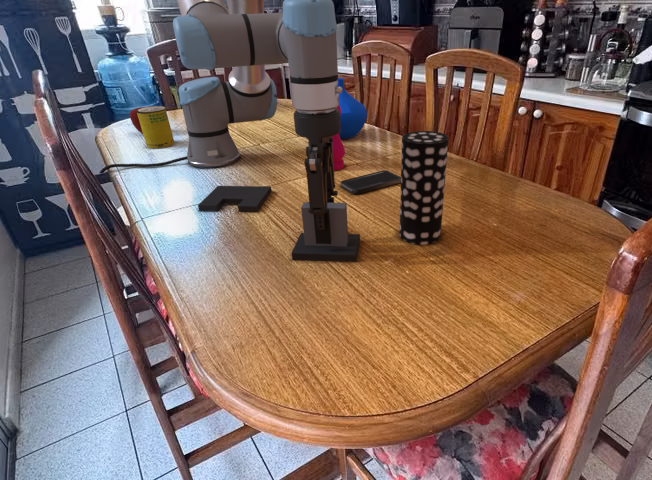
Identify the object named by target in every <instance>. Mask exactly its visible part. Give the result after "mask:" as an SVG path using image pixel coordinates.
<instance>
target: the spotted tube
mask: <svg viewBox="0 0 652 480" xmlns="http://www.w3.org/2000/svg"><path fill="white" fill-rule="evenodd" d="M449 137H450V136H449V135H447V134H445V133H443V132H439V131H434V130H433V131H432V130H417V131H411V132H407V133H404V134H403V135H402V136H401V161H400V163H401V167H400V177H401V182H400V197H399V198H400V202H399V203H400V207H399V237H400V239H401V240H402V241H404V242H406V243H409V244H411V245H421V246H425V245H430V244H431V245H432V244H434V243H436V242H438V241H439V240H440V239H441V235H442V234H441V233H442V224H443V223H442V221H443V210H444V198H445V189H446V187H445V186H446V174H447V163H448V151H449V150H448V149H449V140H450V139H449Z"/></svg>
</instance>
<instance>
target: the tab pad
mask: <svg viewBox="0 0 652 480" xmlns="http://www.w3.org/2000/svg"><path fill="white" fill-rule="evenodd" d="M347 206H348V205H347V202H334V203H327V208H328V210H329V216H330V230H331V244H316V237H315V226H314V215H313V214H310V213H309V212H308V210H309V209H310V205H309V201H304V202H303V203H302V205H301V207H300V210H301V211H300V212H301V221H302V230H303V232H300V234H299V236H298V238H297V240H296V243H295V244H294V246H293V249H292V251H291V252H290V253H291V259H292V261H316V262H317V261H318V262H319V261H321V262H323V261H324V262H354V263H355V262H357V259H358V254H359V253H358V252H359V249H360V242H361V234H360V233H349V228H348V226H349V225H348V207H347Z"/></svg>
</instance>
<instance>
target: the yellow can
mask: <svg viewBox="0 0 652 480" xmlns="http://www.w3.org/2000/svg"><path fill="white" fill-rule="evenodd" d="M144 107H145V108H141V109H138V110H136V111H137V115H138V118H139V121H140V125H141V128H142V132H143V134H142V135H143V139H144V141H145V146H146V148H148V149H152V150H153V149H156V150H157V149H165V148H168V147H171V146H174V145H175V139H174V135H173V131H172V128H171V124H170V119H169V116H168V112H167V108H166V107H165V106H163V105H162V106H160V105H158V106H156V105H155V106H144Z"/></svg>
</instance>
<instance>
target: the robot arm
mask: <svg viewBox="0 0 652 480" xmlns="http://www.w3.org/2000/svg"><path fill="white" fill-rule="evenodd" d="M226 2H227V5H226ZM226 2H225V0H176V3H177V5H178V10H179V12H180V15H178V16H176V17H174V18H173V21H172V27H173V32H174V37H175V42H176V46H177V50H178V53H179V57H180V61H181V64H182V65H183V67H185V68H186V69H188V70H206V71H211V70H215V69H227V68H232V70H231V71H230V73H229V74H228V81H221V79H220V78H219V77H218V76H210V77H209V76H208V77H207V76H206V77H201V78H196V79H193V80H189V81H187V82H184V83H183V84H181V85H180V86H179V87H178V95H179V96H178V97H179V104H180V106H181V109H182V114H183V119H184V122H185V126H186V127H185V128H186V132H187V136H188V143H187V144H188V145H187V153H186V154H187V155H186V156H182V157H178V158H175V159H174V158H173V159H170V160H168V161H163V162H156V163H113V164H108V165H106V166H104V167H103V168H101V170H100V171H99V173H98V174H100V175H101V174H104V173H105V172H106V171H107V170H110V169H113V168H135V167H136V168H155V167H162V166H167V165H171V164H175V163H178V162H182V161H187V162H188V163H187V164H188V165H189V166H191V167H193V168H199V169H213V168H214V169H215V168H220V167H225V166H229V165H231V164H234V163H237V161H239V160H240V158H241V157H240V151H239V149H238V147H237V145H236V142H235V141H234V139H233V137H232V136H231V133H230V130H229V125H230V124H238V123H239V124H240V123H249V122H257V121H258V122H259V121H261V122H262V121H264V120H270V119H272V118H273V117H274V116H275V115H276V112H277V108H278V97H277V96H278V92H277V86H276V84H275V82H274V80H273V79H272V78H271V77H270V75H269V73H268V72H267V71H266V65H268V66H269V65H281V64H288V72H289V84H290V85H289V86H290V97H291V106H292V107H291V108H293V109H294V112H293V123H294V131H295V134H296V135H297V136H298V137H301V138H305V139H307V140H308V142H307V146H306V147H305V156H306V157H305V158H304V161H303V163H304V167H305V172H306V182H307V192H308V194H307V195H308V202H309V205H310V209H309V210H308V212H309V213H310V214H313V215H314V226H315V237H316V244H331V230H330V216H329V210H328V208H327V203H335V197H338V196H339V195H338V194H339V191H338V190H335V189H336V183H335V181H336V179H335V170H334V163H333V138H332V136H335V135H337V134H338V133H339V132H340V130H341V123H340V111H339V110H338V109H337V108H336V107H337V106H338V105H339V94H338V93H342V91H343V89H342V87H337V84H338V78H339V67H338V65H339V64H338V44H337V43H338V42H337V30H338V24H337V20H336V12H335V4H334V1H333V0H283V1H282V11H279V12H266V13H265V0H226Z"/></svg>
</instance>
